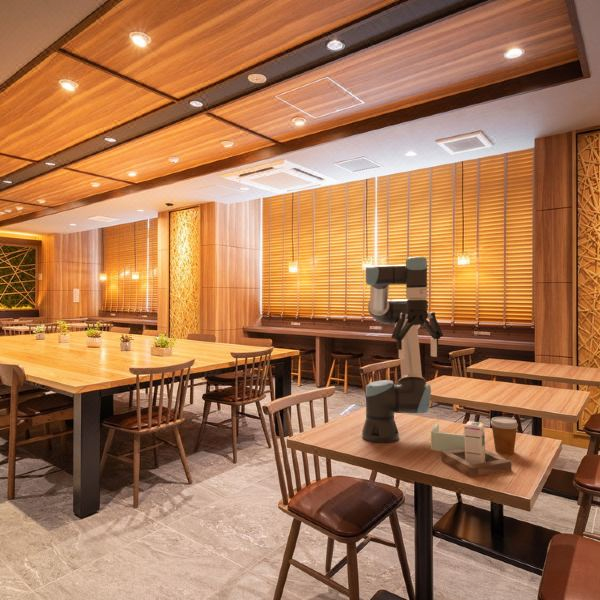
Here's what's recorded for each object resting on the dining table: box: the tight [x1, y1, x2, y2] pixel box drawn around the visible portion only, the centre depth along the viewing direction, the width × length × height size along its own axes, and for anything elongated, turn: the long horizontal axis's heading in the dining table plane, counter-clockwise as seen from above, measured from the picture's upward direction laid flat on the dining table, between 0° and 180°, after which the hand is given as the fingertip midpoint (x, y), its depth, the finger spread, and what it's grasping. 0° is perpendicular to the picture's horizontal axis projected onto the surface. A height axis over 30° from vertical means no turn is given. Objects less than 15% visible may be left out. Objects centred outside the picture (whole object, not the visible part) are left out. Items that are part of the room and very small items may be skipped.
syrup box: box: [463, 420, 486, 464], centre depth 152 cm, size 6×6×14 cm
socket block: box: [441, 449, 513, 478], centre depth 152 cm, size 16×16×3 cm
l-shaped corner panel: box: [430, 423, 465, 452], centre depth 171 cm, size 12×12×8 cm
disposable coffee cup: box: [489, 416, 519, 456], centre depth 165 cm, size 10×10×12 cm
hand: (417, 357), depth 160 cm, fingers open, 13 cm apart
